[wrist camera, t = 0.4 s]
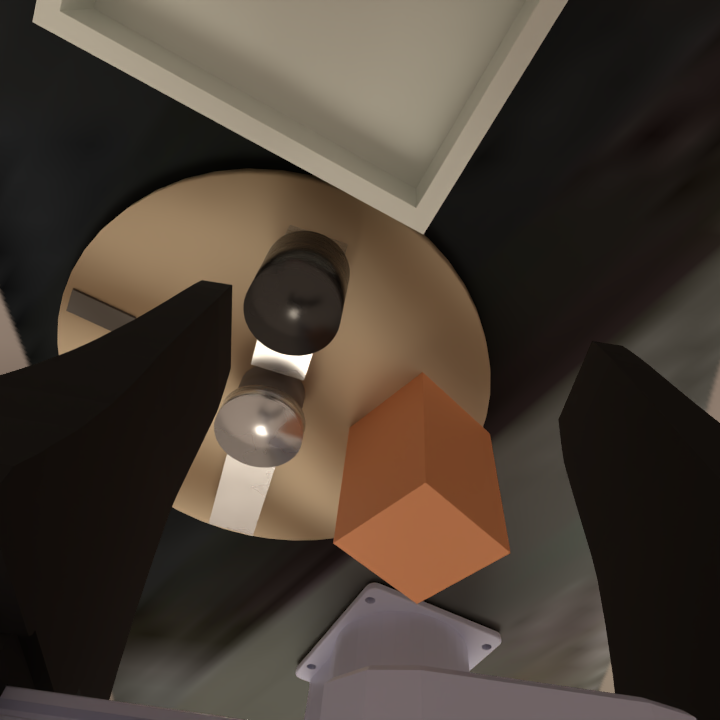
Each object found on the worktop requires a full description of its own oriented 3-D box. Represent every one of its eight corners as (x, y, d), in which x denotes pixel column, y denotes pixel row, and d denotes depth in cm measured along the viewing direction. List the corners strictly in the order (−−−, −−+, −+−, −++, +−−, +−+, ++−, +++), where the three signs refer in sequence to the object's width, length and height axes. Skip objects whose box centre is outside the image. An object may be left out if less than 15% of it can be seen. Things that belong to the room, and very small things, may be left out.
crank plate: (362, 572, 30) (359, 614, 28) (29, 436, 27) (-1, 472, 25) (580, 311, 22) (598, 345, 20) (135, 68, 19) (102, 78, 17)
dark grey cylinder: (270, 523, 27) (250, 597, 24) (201, 505, 27) (172, 577, 24) (368, 238, 20) (360, 289, 17) (275, 207, 20) (247, 252, 16)
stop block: (489, 433, 24) (510, 552, 19) (415, 482, 26) (416, 604, 21) (422, 371, 23) (425, 482, 18) (349, 427, 25) (333, 543, 20)
